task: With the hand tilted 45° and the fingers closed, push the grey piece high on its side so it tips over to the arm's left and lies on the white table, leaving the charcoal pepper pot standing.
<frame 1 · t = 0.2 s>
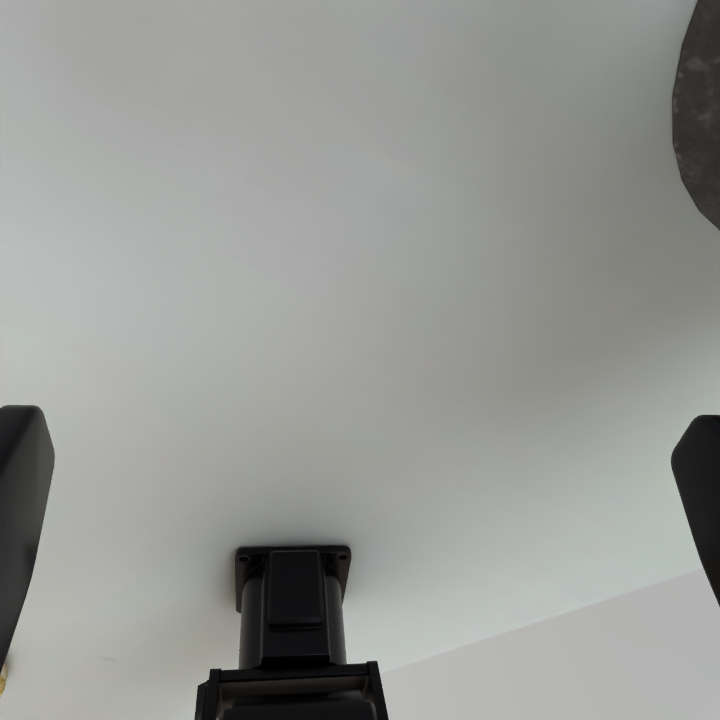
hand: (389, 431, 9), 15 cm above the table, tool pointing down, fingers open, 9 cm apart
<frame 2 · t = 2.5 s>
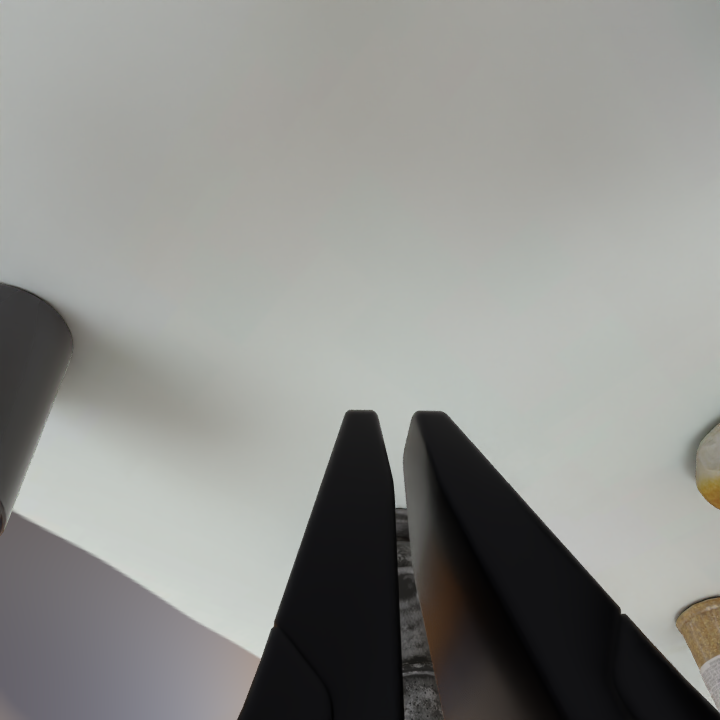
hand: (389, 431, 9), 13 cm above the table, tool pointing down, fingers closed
grey piece: (389, 535, 33), on the table
pepper pot: (5, 335, 23), on the table
sprinkles bottle: (705, 608, 43), on the table
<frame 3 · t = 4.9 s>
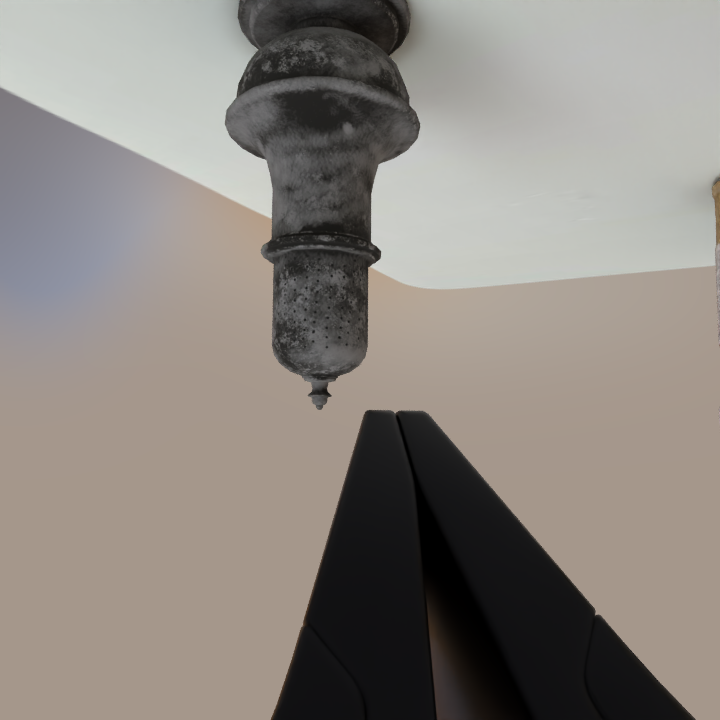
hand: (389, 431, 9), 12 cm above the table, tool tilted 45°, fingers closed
grey piece: (324, 15, 20), on the table
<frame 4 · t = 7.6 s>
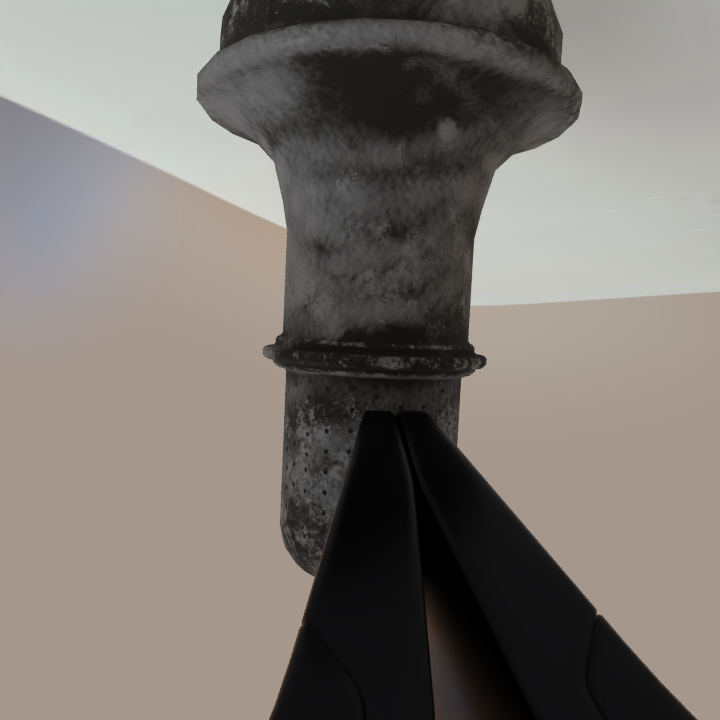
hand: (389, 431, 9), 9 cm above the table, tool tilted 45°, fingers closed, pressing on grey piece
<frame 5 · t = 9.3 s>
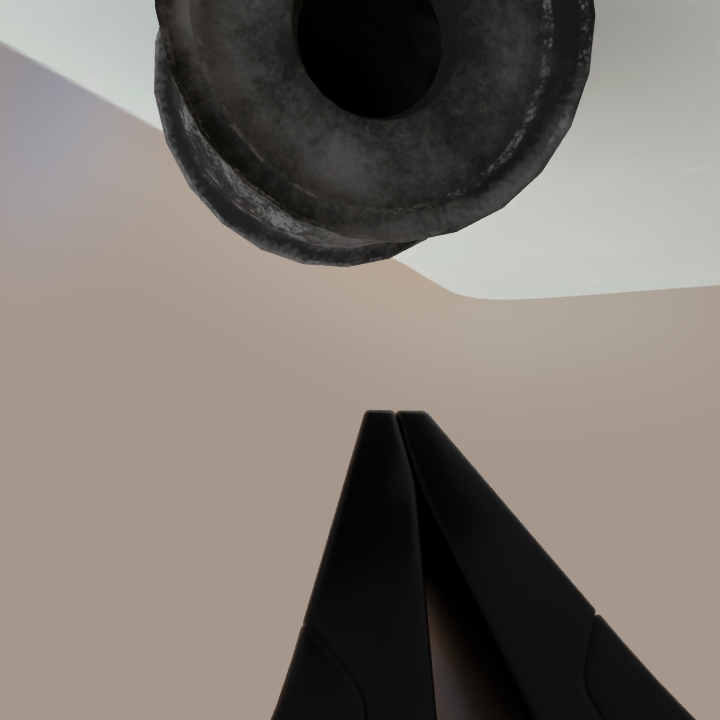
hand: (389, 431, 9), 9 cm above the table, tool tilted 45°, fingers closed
grey piece: (396, 4, 7), point 4 cm above the table
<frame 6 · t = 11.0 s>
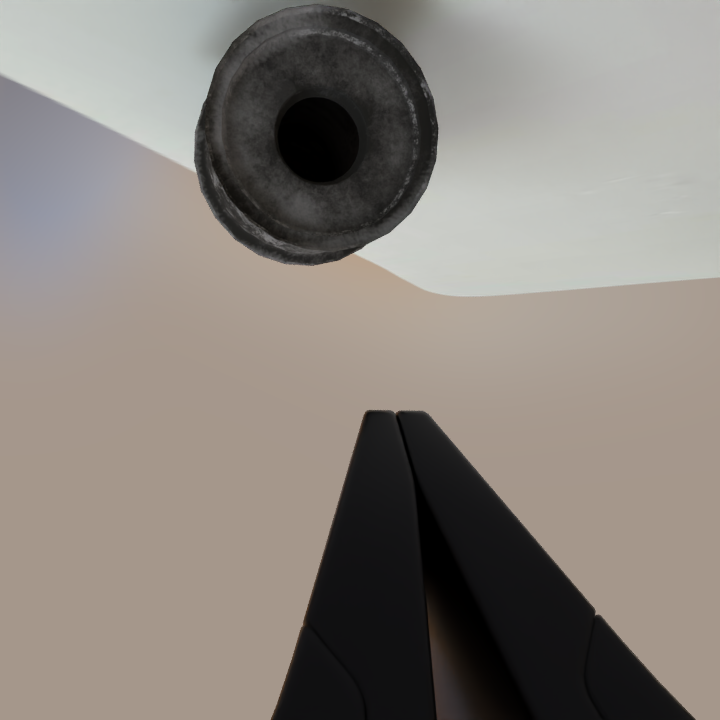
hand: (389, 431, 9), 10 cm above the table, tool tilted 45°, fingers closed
grey piece: (328, 129, 14), point 4 cm above the table
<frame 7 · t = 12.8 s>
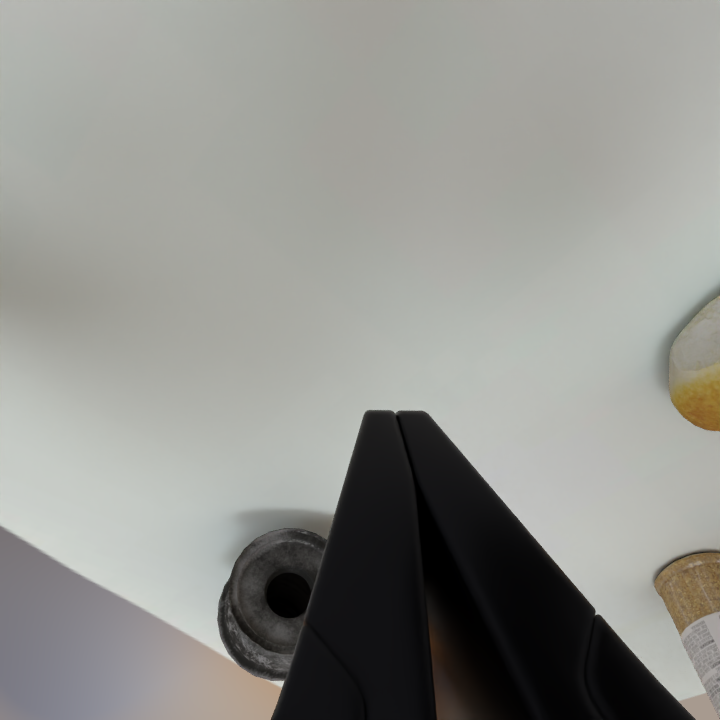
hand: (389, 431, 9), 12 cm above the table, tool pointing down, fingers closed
grey piece: (292, 586, 27), point 4 cm above the table
sprinkles bottle: (688, 568, 37), on the table
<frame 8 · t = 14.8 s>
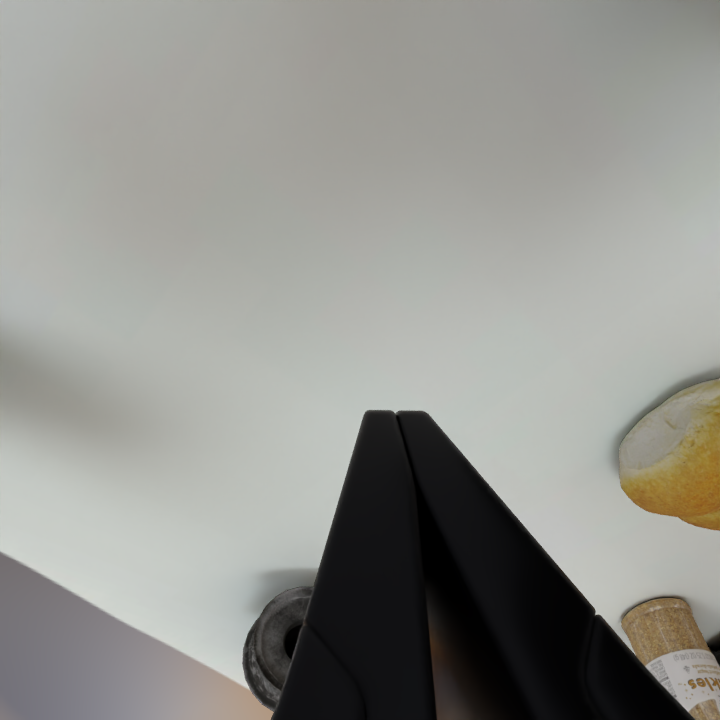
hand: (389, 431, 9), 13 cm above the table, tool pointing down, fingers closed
grey piece: (306, 638, 32), point 4 cm above the table
sprinkles bottle: (651, 609, 42), on the table
bread roll: (699, 433, 30), on the table
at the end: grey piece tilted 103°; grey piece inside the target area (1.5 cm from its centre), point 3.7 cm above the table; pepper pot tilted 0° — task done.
